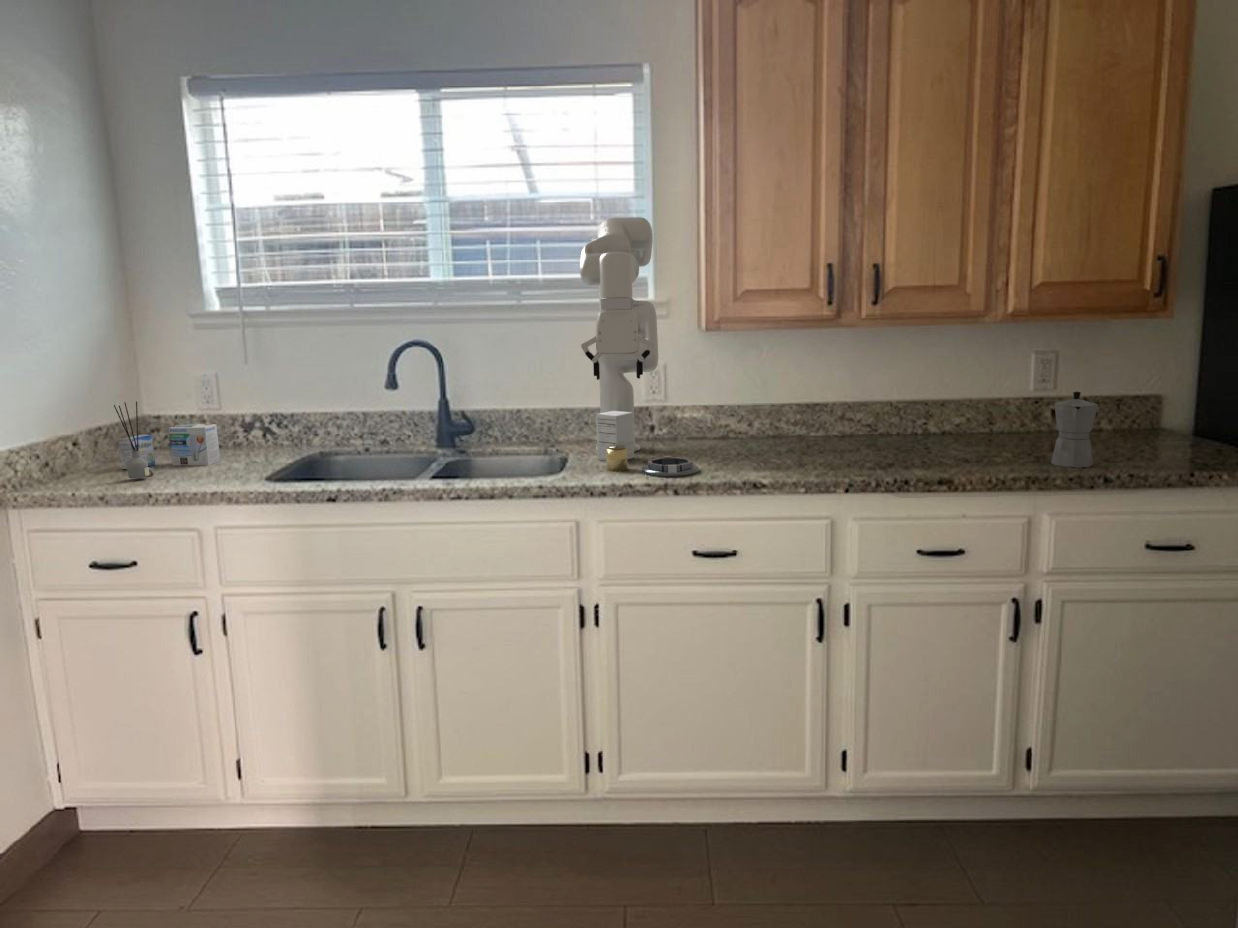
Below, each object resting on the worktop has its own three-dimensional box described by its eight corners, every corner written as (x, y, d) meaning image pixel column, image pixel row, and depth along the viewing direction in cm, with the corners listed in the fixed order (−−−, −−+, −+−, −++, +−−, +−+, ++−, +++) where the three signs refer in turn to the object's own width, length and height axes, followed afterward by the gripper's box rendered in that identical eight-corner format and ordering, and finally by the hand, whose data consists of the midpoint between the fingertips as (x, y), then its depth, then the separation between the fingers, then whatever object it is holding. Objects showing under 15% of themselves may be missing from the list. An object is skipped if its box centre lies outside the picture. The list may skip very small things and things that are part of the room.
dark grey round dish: (640, 467, 226) (640, 456, 225) (694, 465, 226) (694, 455, 226) (643, 478, 212) (643, 466, 212) (701, 476, 213) (701, 465, 212)
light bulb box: (171, 466, 244) (167, 427, 242) (184, 461, 250) (180, 424, 248) (209, 465, 243) (205, 426, 241) (221, 461, 250) (217, 423, 248)
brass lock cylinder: (606, 467, 226) (606, 443, 225) (627, 467, 226) (626, 442, 225) (607, 471, 221) (606, 446, 220) (627, 471, 221) (627, 446, 220)
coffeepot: (1095, 470, 209) (1101, 394, 206) (1051, 468, 213) (1056, 394, 209) (1090, 459, 223) (1095, 388, 220) (1048, 457, 227) (1053, 387, 223)
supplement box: (614, 455, 244) (612, 410, 241) (635, 458, 239) (634, 412, 237) (596, 459, 238) (595, 413, 236) (617, 462, 233) (616, 415, 231)
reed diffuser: (139, 482, 221) (129, 403, 217) (112, 483, 221) (101, 404, 217) (160, 474, 231) (151, 398, 227) (134, 475, 231) (124, 399, 227)
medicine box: (135, 470, 238) (131, 438, 237) (121, 470, 239) (117, 438, 237) (156, 465, 246) (152, 434, 244) (141, 465, 247) (138, 434, 245)
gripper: (652, 305, 212) (653, 376, 215) (580, 306, 211) (582, 378, 214) (654, 305, 204) (655, 379, 207) (579, 307, 204) (581, 381, 207)
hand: (618, 378), depth 211 cm, fingers open, 9 cm apart
